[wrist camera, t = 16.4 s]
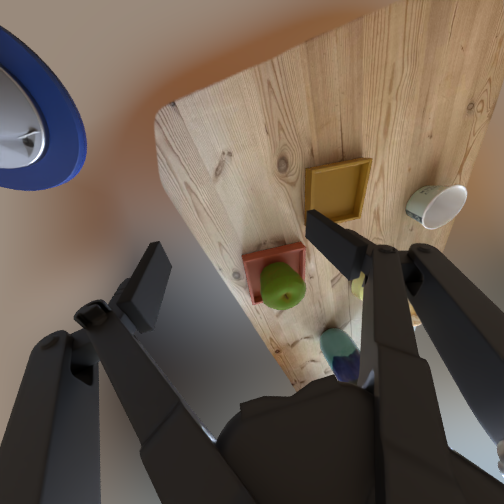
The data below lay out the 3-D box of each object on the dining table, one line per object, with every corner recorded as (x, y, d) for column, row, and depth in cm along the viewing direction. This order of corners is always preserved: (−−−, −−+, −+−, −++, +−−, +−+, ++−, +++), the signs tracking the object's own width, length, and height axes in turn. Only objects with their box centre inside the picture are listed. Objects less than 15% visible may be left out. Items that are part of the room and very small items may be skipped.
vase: (311, 333, 78) (361, 428, 52) (340, 319, 77) (407, 410, 51) (319, 346, 86) (366, 435, 59) (345, 334, 84) (405, 420, 58)
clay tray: (250, 297, 60) (252, 305, 57) (241, 255, 50) (243, 261, 47) (300, 285, 61) (304, 292, 58) (300, 241, 51) (305, 247, 49)
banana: (353, 307, 61) (381, 254, 54) (339, 297, 65) (364, 247, 58) (373, 301, 68) (400, 254, 61) (359, 293, 72) (384, 248, 65)
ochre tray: (304, 225, 49) (309, 229, 46) (305, 168, 41) (311, 170, 38) (352, 214, 50) (360, 218, 47) (362, 157, 42) (372, 158, 40)
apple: (247, 272, 53) (254, 300, 43) (281, 248, 50) (297, 272, 41) (269, 294, 59) (280, 322, 50) (300, 273, 57) (317, 299, 47)
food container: (440, 170, 48) (469, 174, 43) (440, 205, 54) (466, 212, 49) (398, 197, 50) (421, 204, 45) (403, 228, 56) (423, 237, 51)
